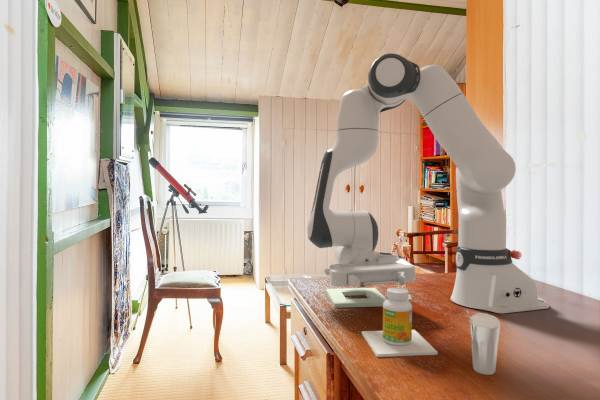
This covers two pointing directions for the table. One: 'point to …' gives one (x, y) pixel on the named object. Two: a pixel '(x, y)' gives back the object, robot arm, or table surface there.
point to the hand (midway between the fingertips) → (382, 282)
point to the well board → (339, 299)
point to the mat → (387, 350)
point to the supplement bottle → (397, 317)
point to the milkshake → (484, 342)
